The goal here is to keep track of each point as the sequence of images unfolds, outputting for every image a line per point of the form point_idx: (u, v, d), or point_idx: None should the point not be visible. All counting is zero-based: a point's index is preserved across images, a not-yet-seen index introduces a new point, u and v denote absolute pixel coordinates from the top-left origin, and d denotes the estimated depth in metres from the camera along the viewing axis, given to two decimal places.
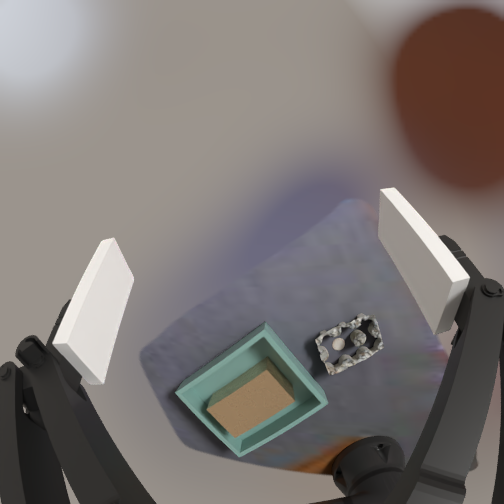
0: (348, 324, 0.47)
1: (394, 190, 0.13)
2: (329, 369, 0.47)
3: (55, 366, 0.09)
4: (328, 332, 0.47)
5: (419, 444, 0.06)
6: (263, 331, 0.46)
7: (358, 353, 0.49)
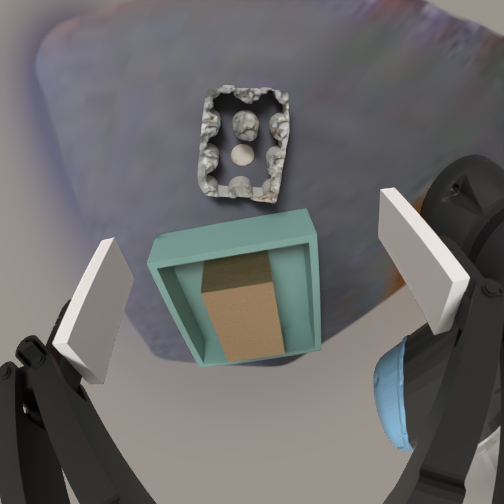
0: (205, 136, 0.25)
1: (394, 190, 0.13)
2: (267, 197, 0.29)
3: (55, 366, 0.09)
4: (201, 174, 0.27)
5: (419, 444, 0.06)
6: (149, 265, 0.30)
7: None
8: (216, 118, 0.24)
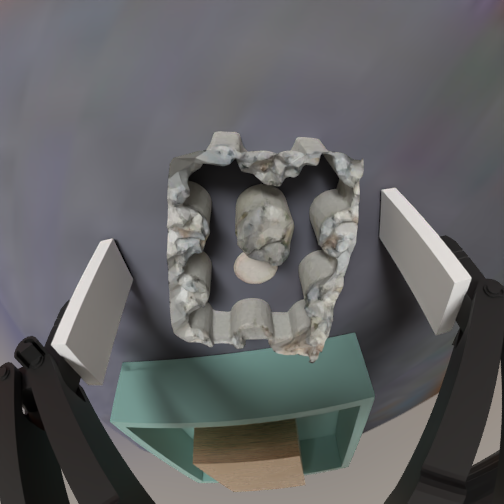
0: (178, 256, 0.12)
1: (395, 190, 0.13)
2: (300, 348, 0.16)
3: (54, 367, 0.09)
4: (178, 319, 0.14)
5: (420, 444, 0.06)
6: (114, 423, 0.17)
7: None
8: (199, 220, 0.11)
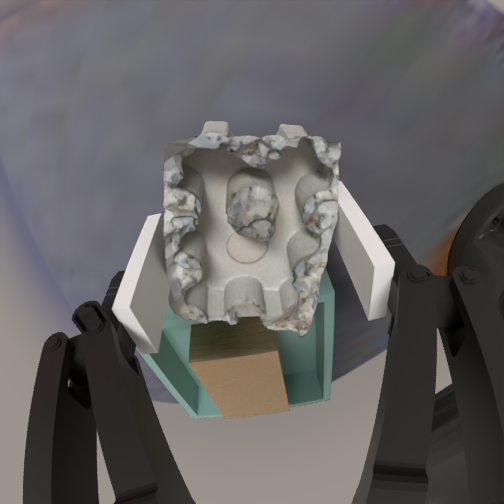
0: (174, 234, 0.13)
1: (339, 183, 0.15)
2: (290, 323, 0.17)
3: (113, 336, 0.09)
4: (174, 295, 0.15)
5: (372, 439, 0.07)
6: None
7: None
8: (192, 200, 0.13)
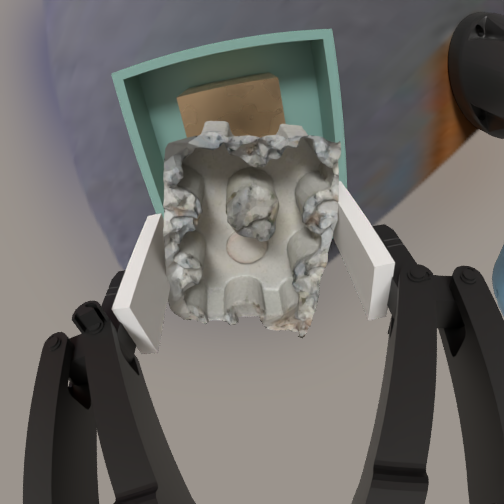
0: (173, 234, 0.13)
1: (339, 183, 0.15)
2: (290, 323, 0.17)
3: (113, 336, 0.09)
4: (174, 295, 0.15)
5: (372, 439, 0.07)
6: (114, 76, 0.19)
7: None
8: (192, 200, 0.12)
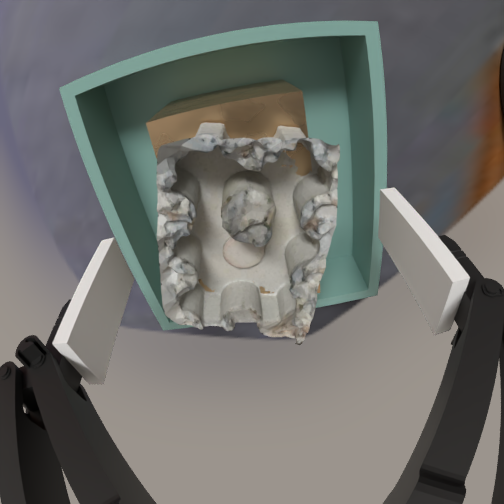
0: (167, 239, 0.13)
1: (394, 190, 0.13)
2: (287, 330, 0.16)
3: (55, 366, 0.09)
4: (169, 301, 0.15)
5: (419, 444, 0.06)
6: (63, 92, 0.13)
7: None
8: (186, 204, 0.12)
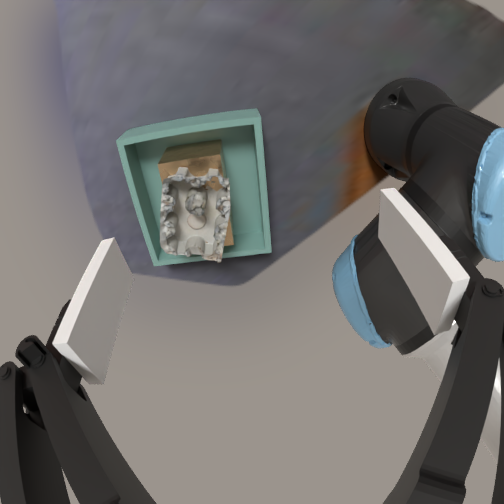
0: (164, 212, 0.33)
1: (394, 190, 0.13)
2: (214, 257, 0.37)
3: (55, 366, 0.09)
4: (162, 239, 0.35)
5: (419, 444, 0.06)
6: (118, 143, 0.32)
7: None
8: (172, 199, 0.32)
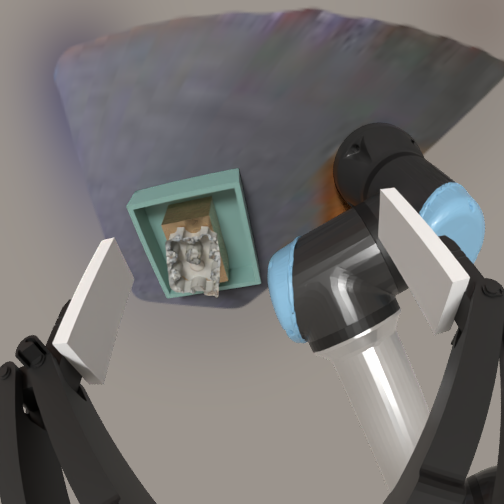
0: (170, 263, 0.43)
1: (394, 190, 0.13)
2: (213, 293, 0.47)
3: (55, 366, 0.09)
4: (171, 283, 0.45)
5: (419, 444, 0.06)
6: (128, 207, 0.43)
7: None
8: (174, 253, 0.42)
